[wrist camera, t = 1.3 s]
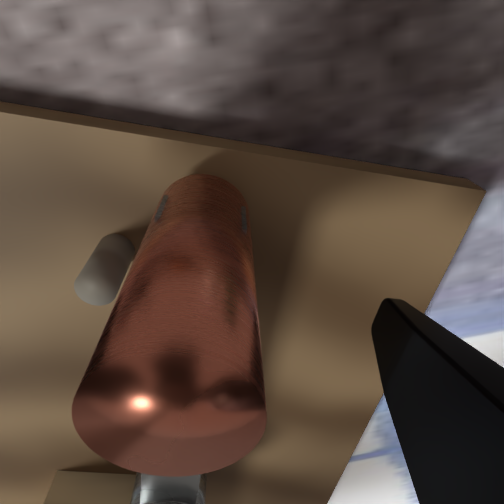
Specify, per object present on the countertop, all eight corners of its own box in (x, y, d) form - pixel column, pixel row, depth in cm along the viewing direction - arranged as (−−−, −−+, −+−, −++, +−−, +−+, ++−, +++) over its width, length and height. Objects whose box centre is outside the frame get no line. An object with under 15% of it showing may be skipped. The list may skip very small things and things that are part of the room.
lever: (195, 518, 22) (179, 727, 15) (138, 515, 21) (96, 730, 15) (262, 177, 12) (300, 363, 5) (155, 160, 11) (47, 340, 5)
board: (311, 504, 24) (323, 572, 21) (13, 490, 22) (-22, 564, 19) (467, 178, 13) (535, 221, 10) (-88, 86, 11) (-207, 107, 8)
